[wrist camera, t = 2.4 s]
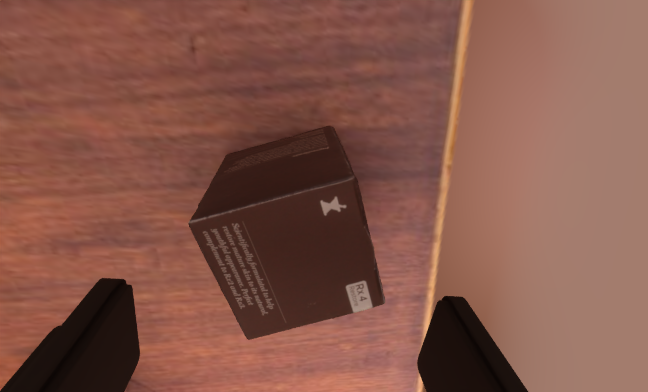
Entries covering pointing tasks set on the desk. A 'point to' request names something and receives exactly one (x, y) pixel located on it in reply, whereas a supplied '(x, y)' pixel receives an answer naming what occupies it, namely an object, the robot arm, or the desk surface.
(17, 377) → the robot arm
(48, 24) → the desk surface
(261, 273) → the box
